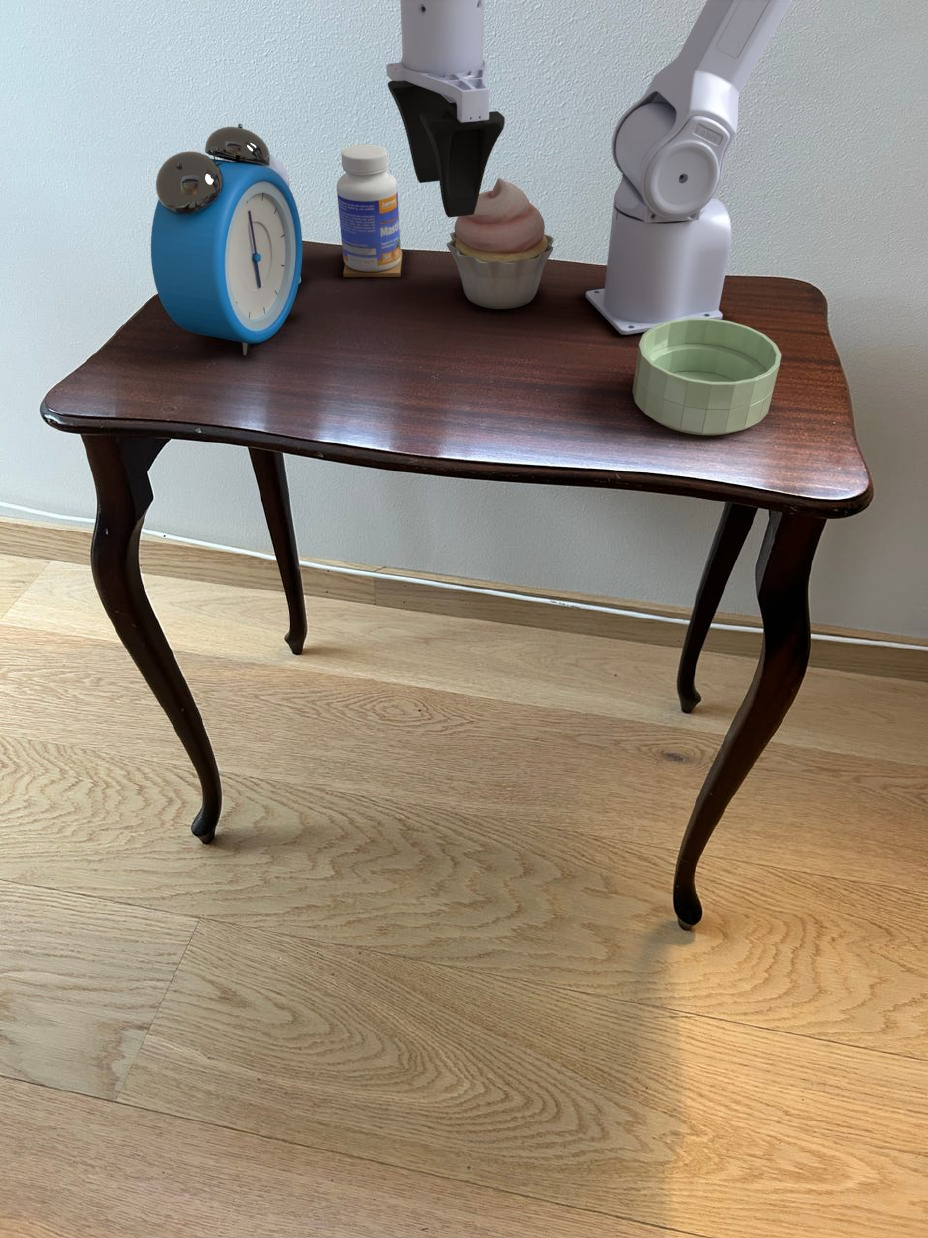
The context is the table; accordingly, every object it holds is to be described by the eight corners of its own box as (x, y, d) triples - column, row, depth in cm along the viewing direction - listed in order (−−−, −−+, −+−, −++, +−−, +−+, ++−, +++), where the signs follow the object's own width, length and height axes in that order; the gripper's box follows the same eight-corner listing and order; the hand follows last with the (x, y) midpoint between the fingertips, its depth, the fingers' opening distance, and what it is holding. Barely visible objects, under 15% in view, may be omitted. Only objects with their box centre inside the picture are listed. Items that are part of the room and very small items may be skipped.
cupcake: (440, 276, 88) (438, 161, 81) (540, 270, 89) (546, 156, 82) (454, 322, 81) (453, 201, 74) (561, 315, 82) (570, 195, 75)
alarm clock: (236, 376, 75) (199, 176, 64) (168, 362, 76) (121, 164, 66) (312, 304, 83) (290, 117, 73) (250, 292, 85) (220, 109, 74)
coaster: (402, 253, 92) (402, 249, 91) (400, 276, 88) (400, 272, 88) (348, 254, 92) (347, 250, 91) (343, 277, 88) (343, 272, 87)
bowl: (724, 363, 76) (735, 309, 73) (793, 427, 69) (808, 371, 66) (610, 383, 74) (617, 328, 70) (669, 451, 67) (679, 393, 64)
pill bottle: (393, 275, 87) (386, 162, 80) (336, 271, 88) (325, 158, 81) (407, 252, 91) (402, 142, 84) (352, 247, 92) (343, 139, 85)
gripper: (359, -27, 69) (371, 171, 78) (414, 15, 59) (421, 237, 68) (452, -33, 70) (454, 162, 80) (521, 8, 60) (514, 226, 69)
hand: (444, 196), depth 74 cm, fingers open, 7 cm apart
